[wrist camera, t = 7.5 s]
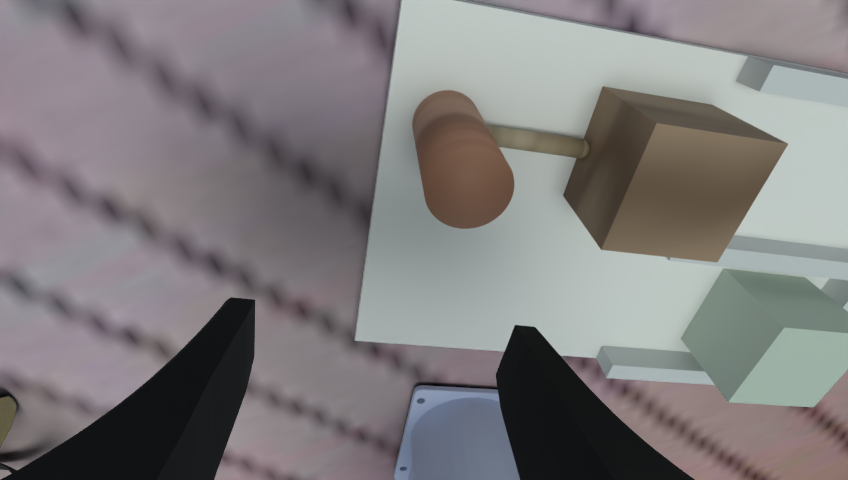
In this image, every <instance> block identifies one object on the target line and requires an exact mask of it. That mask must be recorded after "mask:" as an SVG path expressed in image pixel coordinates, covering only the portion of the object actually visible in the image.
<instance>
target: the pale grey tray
mask: <svg viewBox="0 0 848 480" xmlns="http://www.w3.org/2000/svg"><path fill="white" fill-rule="evenodd" d="M603 86H604V87H610V88H616V89H622V90H628V91H634V92H640V93H646V94H652V95H658V96H664V97H670V98H676V99H682V100H688V101H694V102H700V103H705V104H711V105H714V106H716V107H718V108H720V109H722V110H724V111H726V112H727V113H729V114H731V115H733V116H735V117H737V118H739V119H741V120H743V121H745V122H747V123H749V124H751V125H753V126H755V127H757V128H759V129H760V130H762V131H764V132H766V133H768V134H770V135H772V136H774V137H776V138H778V139H780V140H782V141H784V142H786V143H788V146H787V147H786V149H785V151H784V152H783V154H782V156H781V157H780V159H779V161H778V162H777V164H776V166H775V167H774V169H773V171H772V172H771V174H770V176H769V177H768V179H767V181H766V182H765V184H764V186H763V187H762V189H761V191H760V192H759V194H758V196H757V197H756V199H755V201H754V202H753V204H752V206H751V207H750V209H749V211H748V212H747V214H746V216H745V217H744V219H743V221H742V222H741V224H740V226H739V227H738V229H737V231H736V232H735V234H734V236H733V237H732V239H731V241H730V242H729V244H728V246H727V247H726V249H725V251H724V252H723V254H722V256H721V257H720V259H719V261H718V262H708V261H699V260H689V259H680V258H671V257H662V256H653V255H644V254H635V253H625V252H616V251H607V250H601V249H600V248H599V246H598V245H597V243H596V242H595V240H594V239H593V238H592V236H591V235H590V233H589V232H588V230H587V229H586V228H585V226H584V225H583V223H582V222H581V221H580V219H579V218H578V216H577V215H576V213H575V212H574V211H573V209H572V208H571V206H570V205H569V203H568V202H567V201H566V199H565V198H564V196H563V194H564V191H565V189H566V186H567V183H568V180H569V178H570V175H571V172H572V169H573V167H574V164H575V161H576V158H573V157H566V156H559V155H552V154H545V153H538V152H531V151H524V150H517V149H510V148H503V147H499V148H500V150H501V152H502V153H503V155H504V157H505V159H506V161H507V162H508V164H509V166H510V168H511V170H512V172H513V176H514V192H513V196H512V199H511V201H510V203H509V205H508V206H507V208H506V209H505V210H504V212H503V213H502V214H501V215H500V216H498V217H497V218H496V219H495V220H493V221H491V222H490V223H488V224H486V225H483V226H480V227H477V228H471V229H459V228H454V227H451V226H448V225H446V224H444V223H442V222H440V221H439V220H438V219H436V218H435V217H434V216H433V215H432V213H431V212H430V210H429V209H428V207H427V205H426V202H425V197H424V191H423V186H422V180H421V174H420V169H419V163H418V157H417V152H416V146H415V140H414V135H413V129H412V121H413V116H414V113H415V111H416V109H417V107H418V106H419V104H420V103H421V102H422V101H423V100H424V99H425V98H426V97H428V96H429V95H431V94H433V93H435V92H438V91H443V90H452V91H457V92H460V93H462V94H464V95H466V96H467V97H469V98H470V99H471V100H472V101H473V103H474V104H475V106H476V107H477V109H478V111H479V113H480V114H481V116H482V118H483V120H484V122H485V123H486V125H491V126H498V127H504V128H511V129H518V130H525V131H531V132H538V133H545V134H552V135H559V136H565V137H572V138H579V139H584V136H585V134H586V131H587V128H588V125H589V123H590V120H591V117H592V114H593V112H594V109H595V106H596V103H597V101H598V98H599V95H600V92H601V90H602V87H603ZM723 268H724V269H733V270H742V271H752V272H761V273H770V274H779V275H788V276H798V277H805V278H807V279H808V280H809V281H810V282H811V283H813V284H814V285H815V286H816V287H818V288H819V289H820V290H821V291H823V292H824V293H825V294H826V295H828V296H829V297H830V298H831V299H833V300H834V301H835V302H836V303H838V304H839V305H840V306H841V307H842V308H844V309H845V310H846V311H847V312H848V73H844V72H838V71H833V70H828V69H823V68H817V67H812V66H807V65H802V64H797V63H791V62H786V61H781V60H776V59H770V58H765V57H760V56H755V55H750V54H744V53H739V52H734V51H729V50H723V49H718V48H713V47H708V46H703V45H697V44H692V43H687V42H682V41H676V40H671V39H666V38H661V37H656V36H650V35H645V34H640V33H635V32H629V31H624V30H619V29H614V28H609V27H603V26H598V25H593V24H588V23H582V22H577V21H572V20H567V19H562V18H556V17H551V16H546V15H541V14H536V13H530V12H525V11H520V10H515V9H509V8H504V7H499V6H494V5H489V4H483V3H478V2H473V1H468V0H400V6H399V14H398V21H397V28H396V36H395V43H394V50H393V58H392V65H391V72H390V80H389V87H388V94H387V102H386V109H385V116H384V124H383V131H382V138H381V146H380V153H379V160H378V168H377V175H376V182H375V189H374V197H373V204H372V211H371V219H370V226H369V233H368V241H367V248H366V255H365V263H364V270H363V277H362V285H361V292H360V299H359V307H358V314H357V321H356V330H355V341H366V342H380V343H394V344H408V345H422V346H436V347H450V348H464V349H478V350H492V351H505V350H506V347H507V344H508V342H509V339H510V337H511V334H512V331H513V329H514V326H515V325H521V326H532V327H536V328H537V330H538V331H539V332H540V333H541V334H542V335H543V336H544V337H545V339H546V340H547V341H548V342H549V343H550V344H551V346H552V347H553V348H554V349H555V350H556V352H557V353H558V354H559V355H561V356H575V357H589V358H596V359H597V361H598V363H599V365H600V367H601V369H602V371H603V373H604V375H605V377H606V378H615V379H631V380H646V381H662V382H677V383H693V384H708V385H715V384H714V383H713V381H712V380H711V379H710V377H709V376H708V375H707V373H706V372H705V371H704V369H703V368H702V367H701V365H700V364H699V363H698V361H697V360H696V359H695V357H694V356H693V355H692V353H691V352H690V350H689V349H688V348H687V346H686V345H685V344H684V342H683V341H682V340H681V337H682V335H683V334H684V332H685V330H686V329H687V327H688V325H689V324H690V322H691V321H692V319H693V317H694V316H695V314H696V312H697V311H698V309H699V307H700V306H701V304H702V303H703V301H704V299H705V298H706V296H707V294H708V293H709V291H710V290H711V288H712V286H713V285H714V283H715V281H716V280H717V278H718V277H719V275H720V273H721V272H722V270H723Z"/></svg>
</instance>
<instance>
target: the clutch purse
mask: <svg viewBox="0 0 848 480" xmlns="http://www.w3.org/2000/svg"><path fill="white" fill-rule="evenodd" d="M15 414H16V403H15V400H14V398H13V397H12V396H10V395H8V394H1V395H0V446H1V445H2V443H3V441H4V439H5V438H6V436H7V434H8V432H9V430H10V428H11V425H12V423H13V420H14V418H15ZM0 469H3V470H9V471H10V472H11V473H14V472H16V471H17V470H15V469H13V468H11V467H9V466H7V465H4V464H2V463H0Z"/></svg>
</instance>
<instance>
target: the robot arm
mask: <svg viewBox="0 0 848 480" xmlns="http://www.w3.org/2000/svg"><path fill="white" fill-rule="evenodd" d="M254 339H255V300H251V299H241V298H230V299H228V300H227V301H226V302H225V303H224V304H223V305H222V307H221V308H220V309H219V310H218V311H217V313H216V314H215V315H214V316H213V317H212V318H211V319H210V321H209V322H208V323H207V324H206V325H205V326H204V327H203V328H202V329H201V330H200V331H199V333H198V334H197V335H196V336H195V337H194V338H193V339H192V340H191V341H190V342H189V343H188V344H187V345H186V346H185V347H184V348H183V349H182V350H181V351H180V352H179V353H178V354H177V355H176V356H175V357H174V358H172V359H171V360H170V361H169V362H168V363H167V364H166V365H165V366H164V367H163V368H162V369H160V370H159V371H158V372H157V373H156V374H155V375H154V376H153V377H152V378H150V379H149V380H148V381H147V382H146V383H145V384H143V385H142V386H141V387H140V388H139V389H137V390H136V391H135V392H134V393H132V394H131V395H130V396H129V397H127V398H126V399H125V400H124V401H122V402H121V403H120V404H118V405H117V406H116V407H114V408H113V409H112V410H110V411H109V412H108V413H106V414H105V415H103V416H102V417H101V418H99V419H98V420H96V421H95V422H94V423H92V424H91V425H89V426H88V427H86V428H85V429H84V430H82V431H81V432H79V433H78V434H76V435H75V436H73V437H72V438H70V439H69V440H67V441H65V442H64V443H62V444H60V445H59V446H57V447H56V448H54V449H52V450H51V451H49V452H47V453H46V454H44V455H43V456H41V457H39V458H38V459H36V460H34V461H33V462H31V463H29V464H28V465H26V466H24V467H23V468H21V469H19V470H17V471H16V472H14V473H12V474H10V475H9V476H7V477H5V478H3V479H1V480H214V478H215V475H216V472H217V469H218V466H219V464H220V461H221V458H222V456H223V453H224V450H225V447H226V445H227V442H228V439H229V436H230V434H231V431H232V428H233V426H234V423H235V420H236V417H237V415H238V412H239V409H240V406H241V404H242V401H243V398H244V395H245V392H246V389H247V385H248V380H249V376H250V372H251V368H252V364H253V359H254ZM496 380H497V388H498V390H496V389H479V388H461V387H444V386H427V385H420V386H417V387H416V388H415V389H414V391H413V395H412V400H411V404H410V408H409V412H408V416H407V420H406V424H405V428H404V433H403V437H402V441H401V445H400V449H399V453H398V457H397V462H396V466H395V470H394V478H395V480H694V479H693V478H692V477H690V476H689V475H688V474H686V473H685V472H683V471H682V470H681V469H679V468H678V467H677V466H675V465H674V464H673V463H671V462H670V461H669V460H667V459H666V458H665V457H664V456H662V455H661V454H660V453H658V452H657V451H656V450H655V449H653V448H652V447H651V446H650V445H649V444H647V443H646V442H645V441H644V440H643V439H641V438H640V437H639V436H638V435H637V434H636V433H635V432H633V431H632V430H631V429H630V428H629V427H628V426H627V425H626V424H624V423H623V422H622V421H621V420H620V419H619V418H618V417H617V416H616V415H615V414H614V413H613V412H612V411H611V410H610V409H609V408H608V407H607V406H606V405H605V404H604V403H603V402H602V401H601V400H600V399H599V398H598V397H597V396H596V395H595V394H594V393H593V392H592V391H591V390H590V389H589V388H588V387H587V386H586V385H585V383H584V382H583V381H582V380H581V379H580V378H579V377H578V376H577V375H576V373H575V372H574V371H573V370H572V369H571V368H570V367H569V365H568V364H567V363H566V362H565V361H564V360H563V359H562V357H561V356H560V355H559V354H558V353H557V352H556V350H555V349H554V348H553V347H552V346H551V344H550V343H549V342H548V341H547V340H546V339H545V337H544V336H543V335H542V334H541V333H540V332H539V331H538V330H537V328H536V327H532V326H521V325H515V326H514V329H513V331H512V334H511V337H510V339H509V342H508V344H507V347H506V350H505V352H504V355H503V357H502V360H501V363H500V365H499V368H498V371H497V373H496ZM419 398H421V399H419Z"/></svg>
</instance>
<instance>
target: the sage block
mask: <svg viewBox="0 0 848 480" xmlns="http://www.w3.org/2000/svg"><path fill="white" fill-rule="evenodd" d="M681 340H682V341H683V342H684V344H685V345H686V346H687V348H688V349H689V350H690V352H691V353H692V355H693V356H694V357H695V359H696V360H697V361H698V363H699V364H700V365H701V367H702V368H703V369H704V371H705V372H706V373H707V375H708V376H709V377H710V379H711V380H712V381H713V383H714V384H715V385H716V387H717V388H718V389H719V391H720V392H721V393H722V395H723V396H724V397H725V399H726V400H727V401H728V402H732V403H750V404H767V405H784V406H801V407H814V406H815V405H816V404H817V403H818V402H819V401H820V399H821V398H822V397H823V396H824V395H825V394H826V393H827V392H828V391H829V389H830V388H831V387H832V386H833V385H834V384H835V383H836V382H837V381H838V379H839V378H840V377H841V376H842V375H843V374H844V373H845V372H846V370H847V369H848V312H847V311H846V310H845V309H844V308H842V307H841V306H840V305H839V304H838V303H836V302H835V301H834V300H833V299H831V298H830V297H829V296H828V295H826V294H825V293H824V292H823V291H821V290H820V289H819V288H818V287H816V286H815V285H814V284H813V283H811V282H810V281H809V280H808V279H807V278H805V277H798V276H788V275H779V274H770V273H761V272H752V271H742V270H733V269H724V268H723V270H722V272H721V273H720V275H719V277H718V278H717V280H716V281H715V283H714V285H713V286H712V288H711V290H710V291H709V293H708V294H707V296H706V298H705V299H704V301H703V303H702V304H701V306H700V307H699V309H698V311H697V312H696V314H695V316H694V317H693V319H692V321H691V322H690V324H689V325H688V327H687V329H686V330H685V332H684V334H683V335H682V337H681Z"/></svg>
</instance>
